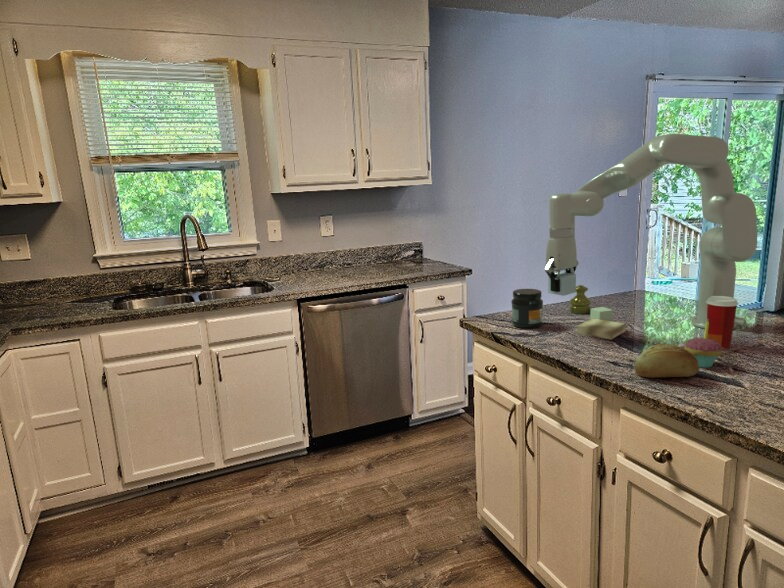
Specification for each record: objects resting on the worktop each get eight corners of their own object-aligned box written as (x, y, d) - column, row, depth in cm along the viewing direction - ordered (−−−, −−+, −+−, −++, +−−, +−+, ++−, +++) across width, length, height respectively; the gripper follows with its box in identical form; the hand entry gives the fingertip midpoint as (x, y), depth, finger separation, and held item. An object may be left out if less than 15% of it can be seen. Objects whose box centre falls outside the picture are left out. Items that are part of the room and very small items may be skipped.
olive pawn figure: (566, 310, 194) (566, 284, 192) (585, 308, 195) (585, 282, 192) (575, 315, 187) (575, 288, 185) (594, 313, 187) (595, 286, 185)
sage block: (612, 324, 173) (612, 310, 172) (599, 326, 172) (599, 311, 171) (602, 320, 178) (603, 306, 177) (590, 322, 177) (590, 308, 176)
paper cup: (729, 342, 149) (734, 295, 146) (737, 350, 142) (742, 302, 139) (699, 341, 152) (702, 295, 149) (705, 349, 145) (709, 301, 142)
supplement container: (549, 326, 174) (549, 292, 172) (522, 331, 171) (522, 296, 168) (531, 319, 184) (531, 286, 181) (505, 323, 181) (505, 290, 178)
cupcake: (689, 356, 140) (692, 314, 137) (725, 363, 134) (729, 319, 131) (678, 365, 134) (681, 321, 131) (716, 373, 128) (720, 327, 125)
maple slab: (625, 332, 165) (625, 323, 164) (610, 340, 158) (611, 331, 157) (592, 326, 173) (592, 318, 172) (576, 334, 165) (577, 325, 165)
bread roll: (707, 383, 122) (710, 351, 121) (642, 384, 124) (644, 352, 122) (689, 368, 132) (691, 339, 130) (628, 369, 133) (630, 340, 132)
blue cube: (575, 292, 164) (575, 273, 163) (563, 295, 161) (563, 277, 159) (560, 289, 169) (560, 272, 167) (548, 293, 165) (548, 274, 164)
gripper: (569, 230, 168) (569, 283, 172) (534, 236, 159) (534, 292, 163) (589, 231, 162) (588, 286, 166) (554, 237, 153) (554, 296, 157)
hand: (562, 289), depth 164 cm, fingers closed on blue cube, 6 cm apart
